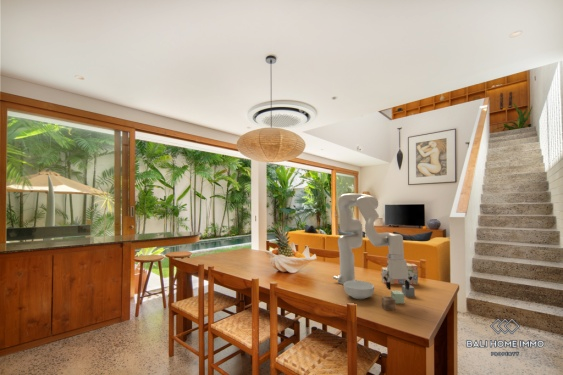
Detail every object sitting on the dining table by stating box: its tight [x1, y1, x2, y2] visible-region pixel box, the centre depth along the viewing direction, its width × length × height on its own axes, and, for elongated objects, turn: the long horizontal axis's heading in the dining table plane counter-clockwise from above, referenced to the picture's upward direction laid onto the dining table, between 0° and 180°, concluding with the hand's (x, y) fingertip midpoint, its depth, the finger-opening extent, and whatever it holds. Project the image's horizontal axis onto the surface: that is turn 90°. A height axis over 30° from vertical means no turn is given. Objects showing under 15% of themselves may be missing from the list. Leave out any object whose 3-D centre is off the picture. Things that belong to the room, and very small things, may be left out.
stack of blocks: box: [381, 262, 419, 285], centre depth 177 cm, size 21×6×12 cm, turn 84°
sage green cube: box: [390, 290, 405, 304], centre depth 144 cm, size 5×5×5 cm
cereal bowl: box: [343, 279, 375, 300], centre depth 152 cm, size 17×17×7 cm
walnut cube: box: [381, 296, 396, 311], centre depth 136 cm, size 5×5×5 cm
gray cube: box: [401, 284, 416, 298], centre depth 154 cm, size 5×5×5 cm
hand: (398, 289), depth 144 cm, fingers open, 9 cm apart
